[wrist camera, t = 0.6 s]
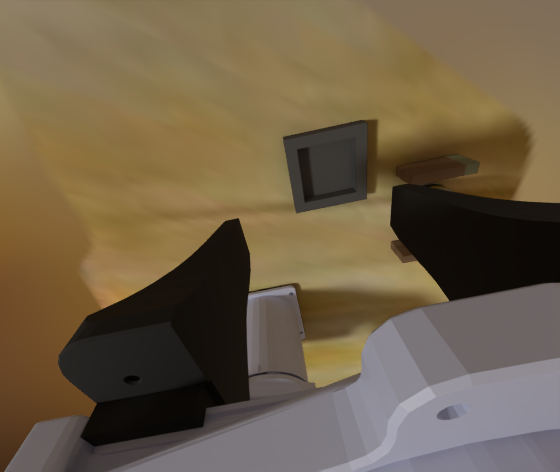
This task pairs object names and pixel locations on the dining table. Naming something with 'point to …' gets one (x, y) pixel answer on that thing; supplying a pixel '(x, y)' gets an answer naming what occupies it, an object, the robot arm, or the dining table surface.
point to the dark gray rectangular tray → (328, 166)
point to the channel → (431, 173)
